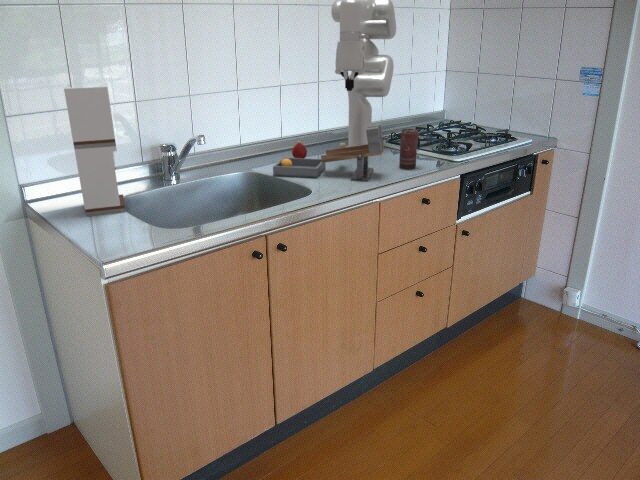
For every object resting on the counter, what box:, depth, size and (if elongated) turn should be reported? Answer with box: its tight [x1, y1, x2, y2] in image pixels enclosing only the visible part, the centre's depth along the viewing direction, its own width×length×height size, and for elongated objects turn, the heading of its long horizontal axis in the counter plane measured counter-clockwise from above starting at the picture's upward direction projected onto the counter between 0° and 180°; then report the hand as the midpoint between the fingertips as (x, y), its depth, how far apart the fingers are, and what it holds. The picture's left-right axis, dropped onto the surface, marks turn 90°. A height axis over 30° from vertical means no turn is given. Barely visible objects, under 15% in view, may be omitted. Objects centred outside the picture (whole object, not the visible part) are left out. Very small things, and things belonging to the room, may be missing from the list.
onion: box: [291, 140, 308, 158], centre depth 213 cm, size 6×6×8 cm
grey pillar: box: [63, 82, 126, 217], centre depth 155 cm, size 11×11×35 cm
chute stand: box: [350, 154, 375, 182], centre depth 193 cm, size 15×6×9 cm, turn 168°
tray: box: [272, 157, 327, 179], centre depth 198 cm, size 14×16×4 cm
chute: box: [320, 123, 385, 163], centre depth 195 cm, size 17×21×9 cm
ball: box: [281, 159, 292, 167], centre depth 199 cm, size 4×4×4 cm
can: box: [398, 128, 419, 171], centre depth 201 cm, size 6×6×14 cm
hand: (349, 90), depth 202 cm, fingers closed
